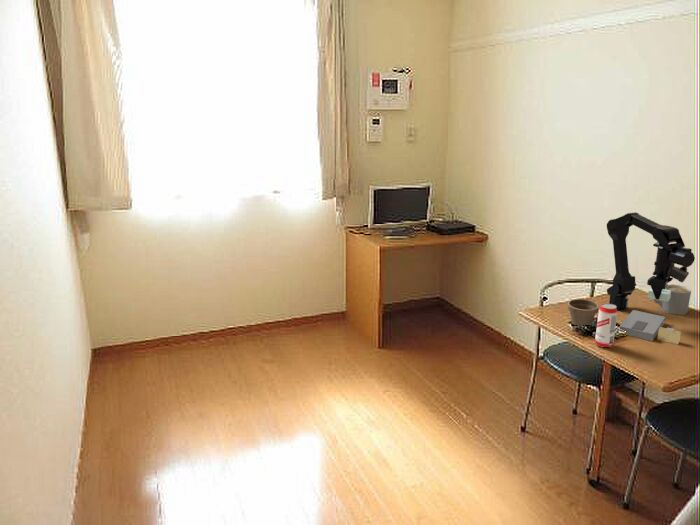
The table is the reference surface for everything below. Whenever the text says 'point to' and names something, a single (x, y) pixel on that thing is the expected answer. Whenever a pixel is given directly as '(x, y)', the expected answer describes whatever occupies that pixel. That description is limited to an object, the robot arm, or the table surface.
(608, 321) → the beer can
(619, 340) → the table surface
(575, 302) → the flower pot
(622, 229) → the robot arm
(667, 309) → the coffee mug
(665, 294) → the cover
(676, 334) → the gold faceted block
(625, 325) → the housing
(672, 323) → the table surface
